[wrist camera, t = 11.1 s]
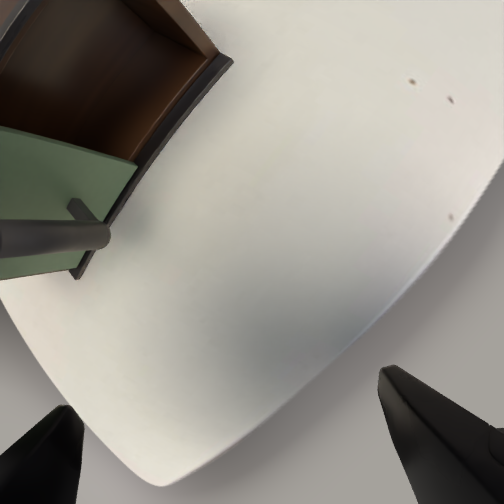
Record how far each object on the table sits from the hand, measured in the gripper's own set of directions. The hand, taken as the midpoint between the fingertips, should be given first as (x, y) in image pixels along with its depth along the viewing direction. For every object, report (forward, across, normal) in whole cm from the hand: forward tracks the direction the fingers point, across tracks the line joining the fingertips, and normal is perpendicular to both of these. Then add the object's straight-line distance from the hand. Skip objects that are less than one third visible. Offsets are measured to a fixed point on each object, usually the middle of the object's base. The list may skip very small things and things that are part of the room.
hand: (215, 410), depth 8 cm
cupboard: (+18, +8, -8) cm, 21 cm away
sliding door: (+15, +8, -1) cm, 17 cm away
